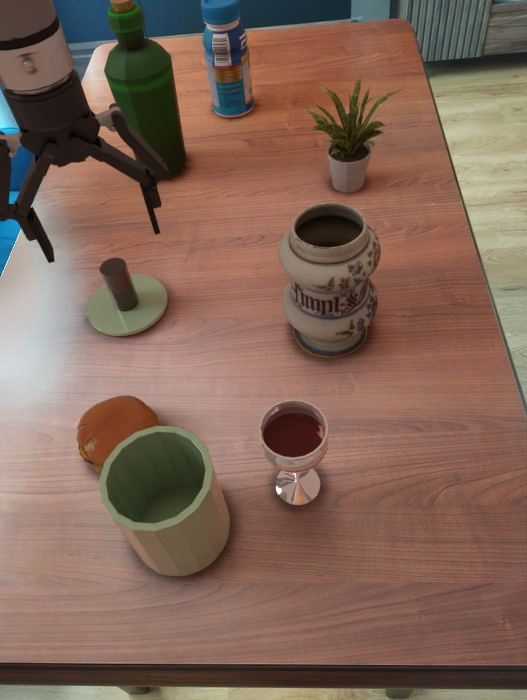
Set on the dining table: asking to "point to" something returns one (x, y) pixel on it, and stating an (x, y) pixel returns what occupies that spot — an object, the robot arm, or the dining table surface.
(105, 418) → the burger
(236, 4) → the beverage bottle
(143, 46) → the bottle
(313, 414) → the wineglass
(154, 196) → the robot arm
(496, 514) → the dining table surface
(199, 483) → the canister
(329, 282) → the apothecary jar
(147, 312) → the lid
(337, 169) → the house plant
